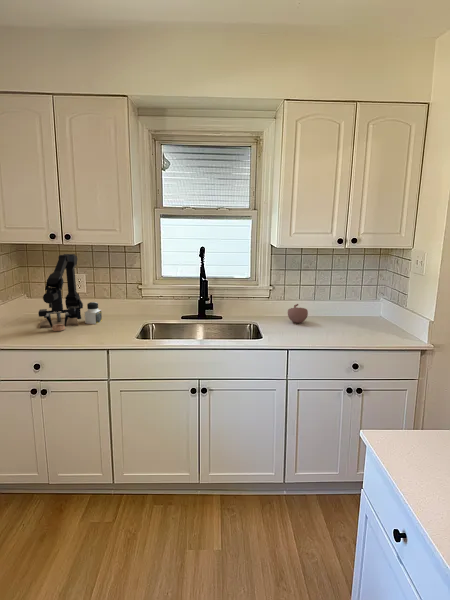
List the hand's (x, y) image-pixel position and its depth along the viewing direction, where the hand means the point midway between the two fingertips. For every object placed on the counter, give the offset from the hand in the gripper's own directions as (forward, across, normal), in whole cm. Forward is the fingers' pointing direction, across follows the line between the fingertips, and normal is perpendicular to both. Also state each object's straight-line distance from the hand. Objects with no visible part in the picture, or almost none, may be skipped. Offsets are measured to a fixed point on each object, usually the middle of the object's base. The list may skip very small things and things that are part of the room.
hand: (58, 326), depth 226 cm
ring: (+1, 0, 0) cm, 1 cm away
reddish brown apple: (+2, -135, +27) cm, 138 cm away
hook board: (+2, 0, -13) cm, 13 cm away
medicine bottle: (+2, -19, -11) cm, 22 cm away
